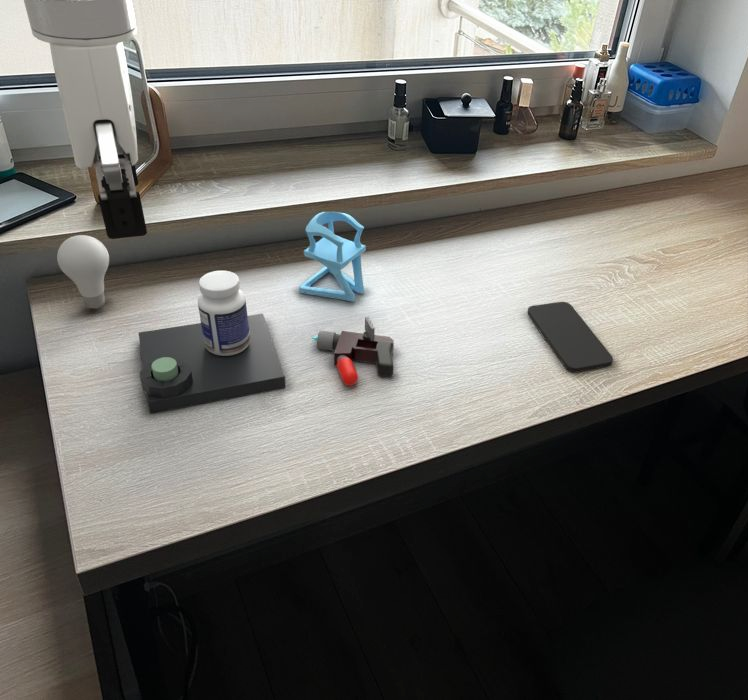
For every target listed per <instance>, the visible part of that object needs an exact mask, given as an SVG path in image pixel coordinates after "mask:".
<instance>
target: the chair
mask: <svg viewBox="0 0 748 700" xmlns="http://www.w3.org/2000/svg"><path fill="white" fill-rule="evenodd" d="M338 221H341V222H345V223H347V224H349V225H350V226H351V227H352V228H354V229H355V230H356V234H355V236H354V239H353V240H349V239H346V238H344V237H341V236H339V235H337V234H335V230H334V222H338ZM325 224H327V227H326V226H325ZM364 229H365V226H363V225H362V224H360V223H359V222H358V221H357V220H356V219H355V218H354V217H353V216H351V215H350V214H349V213H344V212H339V211H322V212H319V213H317V214H316V215H314V216H313V217H312V219H311V220H309V222H308V224H307V225H306V227H305V233H306V235H307V238H308V241H309V246H308V247H307V248H306V249H304V250H303V255H304V257H306V258H308V259H311V260H314V261H316V262H318V263H320V264H322V265H323V266H324V267H322V268H321V269H320V270H318V271H317V272H316V273H314V274H313V275H312V276H311V277H309V278H308V279H306V281H304V282H303V283H302V284H300V285H299V286H298V288H299V293H302V294H304V295H305V294H306V295H309V296H311V295H312V296H317V297H324V298H331V299H337V300H342V301H347V302H353V303H354V302H355V301H356V295H355V292H356V293H357V294H361V295H362V294H365V287H364V286H365V285H364V279H363V278H364V277H363V270H362V254H363V253H365V252H366V251H367V249H366V248H367V247H366V244H363V243H361V236H362V233H363V230H364ZM314 237H322V238H320V239H319V240H318V241H316V239H315V238H314ZM350 263H351V265H352V271H353V279H352V278H350V276H347V275H346V274H345V273H343V272H342V270H343V269H344V268H346V267H347V266H348V265H349V264H350ZM328 273H329V274H331V275H333V276H334V278H335V280H336V281H337V282H338V284H339V286H340V287H341V289H342V290H338V289H329V288H322V287H315V286H312V285H314V284H315V283H316V282H318V281H319V280H320V279H321V278H322V277H324V276H325V275H326V274H328Z"/></svg>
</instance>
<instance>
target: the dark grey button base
mask: <svg viewBox="0 0 748 700" xmlns="http://www.w3.org/2000/svg"><path fill="white" fill-rule="evenodd" d="M247 316H248V324H249V333H250V343H249V345H248V347H247V348H246V349H245V350H243V351H242V352H240V353H238V354H235V355H230V356H220V355H215V354H213V353H211V352H210V351H208V350H207V348H206V347H205V343H204V338H203V332H202V326H201V322H198V323H191V324H186V325H185V324H184V325H178V326H173V327H167V328H166V327H165V328H159V329H152V330H145V331H140V332H139V331H138V339H139V340H138V341H139V347H140V355H141V363H142V368H141V370H140V371H139V378H140V380H139V381H140V383H141V388H142V391H143V392H145V393H146V400H147V406H148V408H149V413H150V415H151V414H156V413H161V412H168V411H173V410H177V409H182V408H188V407H192V406H197V405H203V404H207V403H213V402H218V401H224V400H228V399H229V400H230V399H234V398H239V397H245V396H249V395H254V394H260V393H264V392H265V393H266V392H271V391H276V390H281V389H286V387H287V386H286V376H285V372H284V369H283V368H282V363H281V361H280V358H279V356H278V353H277V350H276V348H275V347H276V346H275V344H274V342H273V341H274V340H273V339H272V336H271V332H270V330H269V327H268V324H267V321H266V318H265V316H264V313H257V314H251V315H247ZM163 357H170V358H173V359H174V360H175V361H176V362H177V367H178V375H177V377H176V378H174V379H172V380H169V381H157V380H156V379H155V378H154V376H153V371H152V363H153V362H154V361H155V360H157V359H159V358H163Z"/></svg>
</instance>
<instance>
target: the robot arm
mask: <svg viewBox="0 0 748 700" xmlns="http://www.w3.org/2000/svg"><path fill="white" fill-rule="evenodd" d="M132 1H133V0H23V2H24V6H25V7H24V8H25V11H26V14H27V19H28V22H29V26H30V30H31V34H32V36H33V37H34V38H36V39H37V40H39V41H42V42H44V43H48V44H49V48H50V49H49V50H50V55H51V61H52V66H53V71H54V75H55V81H56V85H57V89H58V94H59V98H60V102H61V106H62V111H63V115H64V119H65V124H66V127H67V132H68V136H69V137H68V138H69V140H70V145H71V150H72V155H73V159H74V163H75V164H74V165H75V167H77V168H78V169H79V170H81V171H85V170H86V168H92V167H94V171H95V176H96V180H97V181H96V182H97V185H98V192H99V194H98V195H97V198H98V202H99V207H100V212H101V215H102V220H103V224H104V228H105V232H106V235H107V236H106V237H107V238H108V239H112V240H118V239H125V238H133V237H134V238H135V237H143V236H146V235H147V233H148V229H147V223H146V219H145V215H144V214H145V213H144V209H143V204H142V199H141V195H140V191H136V187H137V186H138V185H139V179H138V174H137V169H136V164H137V163H138V161H139V154H138V153H139V152H138V140H137V126H136V116H135V108H134V101H133V94H132V86H131V81H130V80H131V79H130V75H129V68H128V63H127V57H126V52H125V45H124V42H127V41H129V40H133V39H134V37H136V36H137V34H138V28H137V25H136V23H137V22H136V18H135V11H134V7H133V2H132Z"/></svg>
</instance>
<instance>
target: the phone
mask: <svg viewBox="0 0 748 700" xmlns="http://www.w3.org/2000/svg"><path fill="white" fill-rule="evenodd" d="M526 312H527V313H526V314H527V315H528V317H529V318H530V320H531V321H532V323H533V324H534V326H535V327H536V329H538V331H539V333H540V334H541V335H542V336H543V339H545V341H546V342H547V344H548V346H550V348H551V349H552V351H553V352H554V353H555V355H556V356H557V358H558V359H559V360H560V362H561V363H562V365H563V366H564V367H565V368H566V369H567V370H568V371H569V372H574V373H577V372H583V371H589V370H594V369H599V368H605V367H610V366H611V365H612V364H613V361H614V358H613V356H612V354H611V353H610V352H609V351H608V349H607V347H605V346H604V344H603V343H602V342H601V341H600V339H599V338H598V337H597V335H596V334H595V333H594V332H593V331H592V329H591V328H590V327H589V325H588V324H587V322H585V321H584V319H583V318H582V317H581V315H580V314H579V313H578V312H577V310H575V308H574V307H573V306H572V304H571V303H569V302H566V301H557V302H556V301H555V302H550V303H542V304H535V305H530V306H529V307H528V308H527V311H526Z"/></svg>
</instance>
